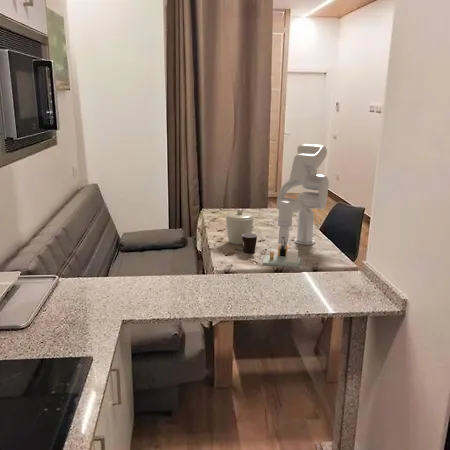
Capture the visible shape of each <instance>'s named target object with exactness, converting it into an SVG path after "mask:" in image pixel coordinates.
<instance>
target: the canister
mask: <svg viewBox="0 0 450 450" xmlns="http://www.w3.org/2000/svg"><path fill="white" fill-rule="evenodd" d="M255 217H256V216H255V215H253V214H252V213H250V212H245V211H244V209H242V208H238V209H237V210H236V211H233V212H229V213H227V214H226V215H225V216H224V218H225V221H226V230H227V239H228V242H229V243H231V244H233V245H237V246H241V245H242V246H243V239H242V235H243V234H246V233H252V232H253V228H254V219H256V218H255Z"/></svg>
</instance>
